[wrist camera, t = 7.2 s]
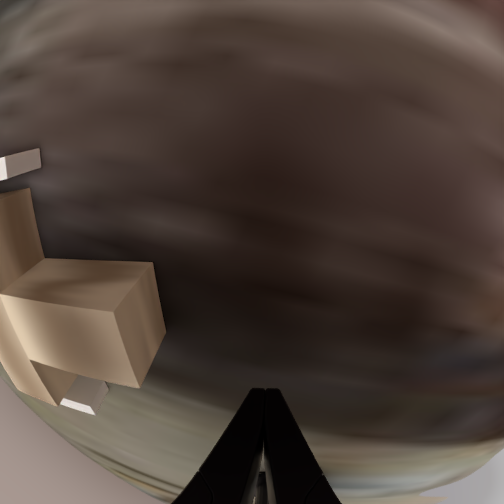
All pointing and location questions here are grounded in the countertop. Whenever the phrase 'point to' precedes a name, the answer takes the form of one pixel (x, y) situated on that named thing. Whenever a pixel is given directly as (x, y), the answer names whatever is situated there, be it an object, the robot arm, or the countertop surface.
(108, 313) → the t block
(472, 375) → the countertop surface
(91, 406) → the bracket
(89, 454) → the countertop surface
